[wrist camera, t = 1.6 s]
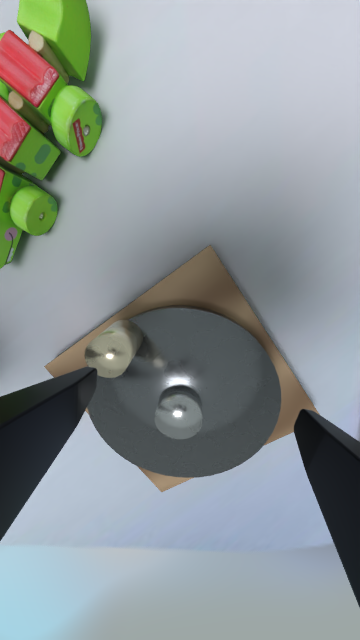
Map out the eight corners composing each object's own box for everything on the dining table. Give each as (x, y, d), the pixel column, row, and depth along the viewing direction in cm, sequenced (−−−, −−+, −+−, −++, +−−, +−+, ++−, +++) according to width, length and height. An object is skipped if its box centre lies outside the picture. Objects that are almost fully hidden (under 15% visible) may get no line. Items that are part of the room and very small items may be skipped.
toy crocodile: (28, 278, 21) (-33, 287, 16) (-32, 235, 21) (-122, 227, 15) (136, 69, 16) (104, -36, 10) (61, 1, 15) (-21, -155, 10)
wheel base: (56, 357, 24) (42, 367, 22) (208, 245, 19) (210, 244, 17) (164, 475, 27) (161, 493, 25) (311, 405, 23) (323, 420, 21)
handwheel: (52, 367, 21) (5, 403, 16) (203, 257, 17) (206, 257, 12) (163, 486, 25) (154, 547, 20) (309, 418, 21) (347, 472, 16)
